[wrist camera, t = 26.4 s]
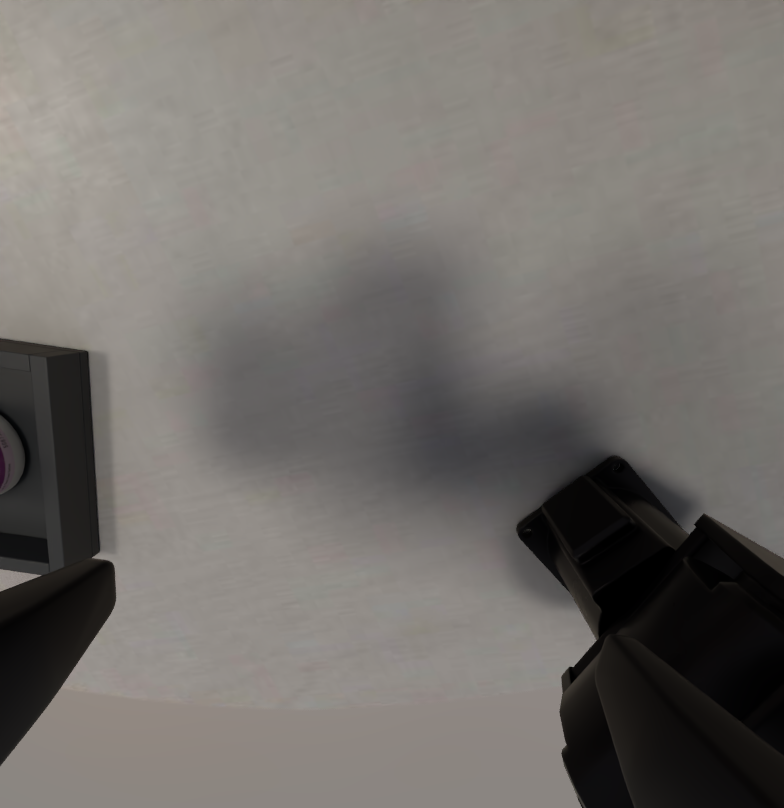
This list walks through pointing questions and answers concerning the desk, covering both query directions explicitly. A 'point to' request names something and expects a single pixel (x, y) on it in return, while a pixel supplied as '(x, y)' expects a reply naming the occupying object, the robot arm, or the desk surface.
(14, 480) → the pill bottle
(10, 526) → the tray
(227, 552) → the desk surface
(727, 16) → the desk surface
